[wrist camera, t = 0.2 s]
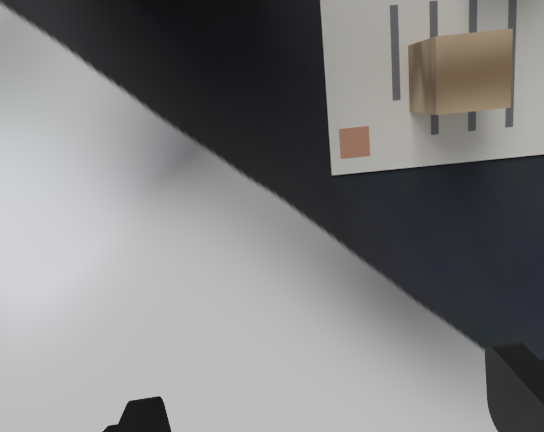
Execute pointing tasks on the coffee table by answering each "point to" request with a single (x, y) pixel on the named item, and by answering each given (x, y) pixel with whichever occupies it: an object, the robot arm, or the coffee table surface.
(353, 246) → the coffee table surface
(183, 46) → the coffee table surface
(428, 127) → the letter
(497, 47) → the oak block
